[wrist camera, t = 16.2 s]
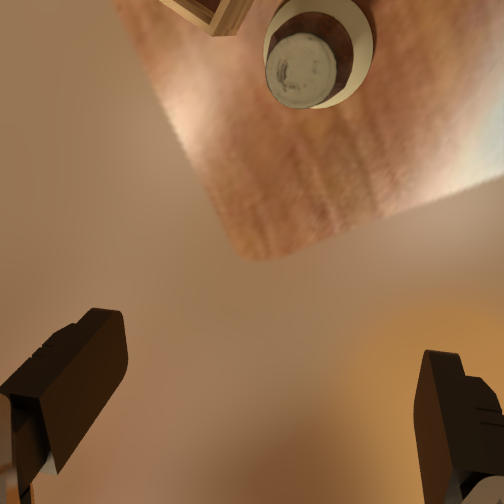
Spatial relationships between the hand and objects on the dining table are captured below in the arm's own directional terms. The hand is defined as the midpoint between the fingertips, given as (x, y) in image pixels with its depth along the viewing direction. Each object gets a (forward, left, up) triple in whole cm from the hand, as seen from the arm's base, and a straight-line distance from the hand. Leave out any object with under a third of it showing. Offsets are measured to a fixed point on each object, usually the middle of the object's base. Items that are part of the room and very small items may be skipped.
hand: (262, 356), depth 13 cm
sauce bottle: (+2, -6, -38) cm, 38 cm away
